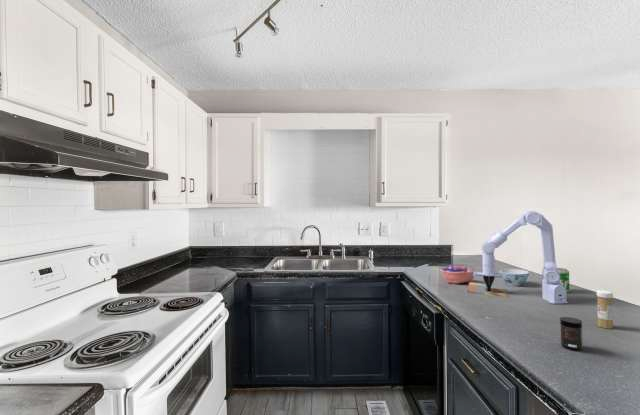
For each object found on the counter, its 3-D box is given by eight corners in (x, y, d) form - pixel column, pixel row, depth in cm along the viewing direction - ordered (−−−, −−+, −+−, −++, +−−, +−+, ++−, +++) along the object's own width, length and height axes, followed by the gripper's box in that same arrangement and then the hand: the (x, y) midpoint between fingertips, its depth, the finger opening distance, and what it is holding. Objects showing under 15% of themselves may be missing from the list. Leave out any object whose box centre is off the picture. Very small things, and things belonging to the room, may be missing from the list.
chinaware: (535, 287, 176) (535, 273, 176) (508, 288, 176) (508, 274, 176) (519, 281, 191) (518, 268, 191) (494, 281, 191) (493, 268, 191)
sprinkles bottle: (594, 324, 122) (593, 290, 122) (604, 324, 122) (604, 289, 122) (605, 329, 117) (605, 293, 117) (617, 328, 118) (616, 292, 118)
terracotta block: (478, 290, 171) (477, 283, 171) (477, 292, 167) (477, 285, 167) (469, 289, 173) (469, 282, 173) (469, 291, 169) (468, 284, 169)
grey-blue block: (486, 291, 169) (486, 283, 169) (486, 293, 165) (485, 285, 165) (478, 290, 171) (477, 283, 171) (477, 292, 167) (477, 285, 167)
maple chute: (508, 292, 168) (508, 288, 168) (508, 299, 156) (508, 295, 156) (467, 288, 178) (467, 284, 178) (464, 294, 166) (464, 290, 166)
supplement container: (579, 345, 105) (579, 318, 105) (585, 352, 100) (585, 324, 100) (558, 342, 108) (557, 315, 108) (562, 349, 102) (562, 321, 102)
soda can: (553, 292, 166) (552, 269, 166) (550, 289, 172) (550, 267, 172) (571, 294, 162) (570, 270, 162) (567, 290, 169) (567, 268, 169)
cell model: (480, 287, 180) (479, 267, 180) (443, 286, 183) (442, 267, 183) (470, 280, 197) (470, 262, 197) (437, 279, 200) (436, 262, 200)
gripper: (504, 264, 166) (505, 290, 166) (473, 262, 173) (474, 287, 173) (504, 266, 160) (505, 293, 160) (472, 264, 167) (473, 290, 167)
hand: (489, 290), depth 166 cm, fingers closed
